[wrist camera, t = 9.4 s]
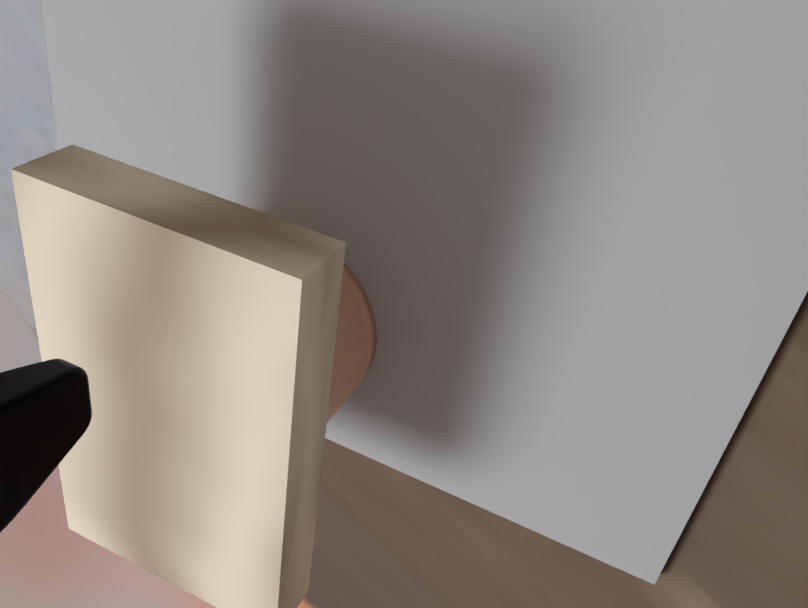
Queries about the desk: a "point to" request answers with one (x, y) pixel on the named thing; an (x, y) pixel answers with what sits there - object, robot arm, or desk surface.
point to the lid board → (186, 371)
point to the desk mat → (500, 218)
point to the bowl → (351, 341)
